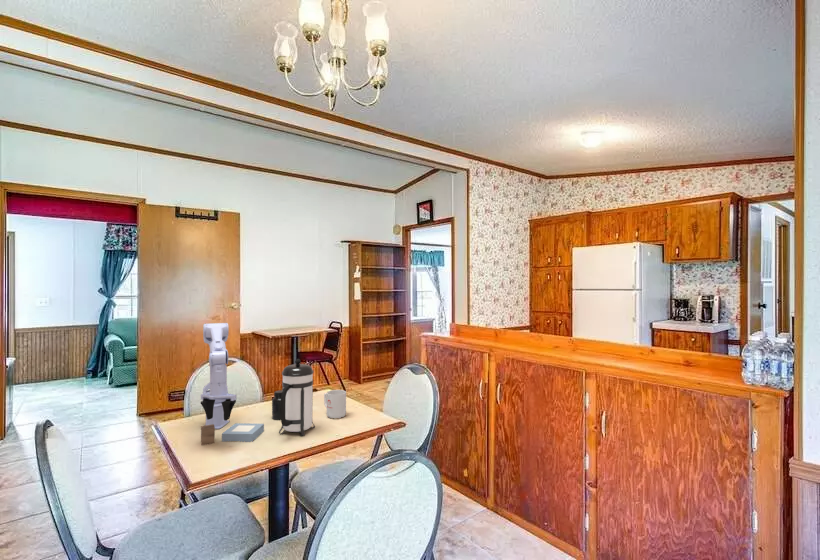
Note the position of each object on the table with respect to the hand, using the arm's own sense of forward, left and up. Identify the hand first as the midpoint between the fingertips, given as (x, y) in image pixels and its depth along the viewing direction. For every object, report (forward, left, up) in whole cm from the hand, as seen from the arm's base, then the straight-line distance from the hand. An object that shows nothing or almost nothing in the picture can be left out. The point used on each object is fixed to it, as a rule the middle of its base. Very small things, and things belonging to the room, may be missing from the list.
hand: (218, 419), depth 157 cm
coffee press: (-16, +25, -10) cm, 31 cm away
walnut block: (-4, -6, -10) cm, 12 cm away
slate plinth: (-11, +5, -10) cm, 16 cm away
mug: (-38, +36, -10) cm, 53 cm away
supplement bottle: (-34, +12, -10) cm, 37 cm away
